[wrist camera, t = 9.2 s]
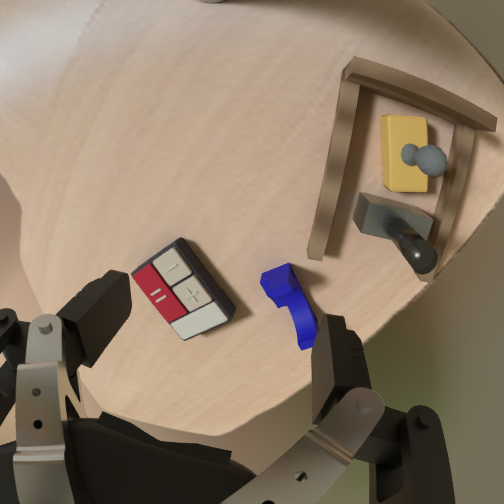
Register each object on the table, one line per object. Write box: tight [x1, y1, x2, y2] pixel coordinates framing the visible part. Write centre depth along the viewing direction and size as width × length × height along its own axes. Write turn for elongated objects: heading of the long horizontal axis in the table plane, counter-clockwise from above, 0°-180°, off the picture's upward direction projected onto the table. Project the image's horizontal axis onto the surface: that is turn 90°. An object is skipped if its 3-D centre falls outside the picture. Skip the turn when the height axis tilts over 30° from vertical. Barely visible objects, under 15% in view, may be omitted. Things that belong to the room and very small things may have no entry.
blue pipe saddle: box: [260, 263, 319, 351], centre depth 43 cm, size 12×4×6 cm, turn 28°
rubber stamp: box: [380, 115, 448, 192], centre depth 28 cm, size 10×6×12 cm, turn 6°
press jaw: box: [353, 192, 438, 275], centre depth 31 cm, size 4×9×14 cm, turn 82°
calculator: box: [131, 237, 236, 341], centre depth 46 cm, size 11×4×15 cm
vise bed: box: [307, 56, 497, 283], centre depth 32 cm, size 26×20×8 cm
